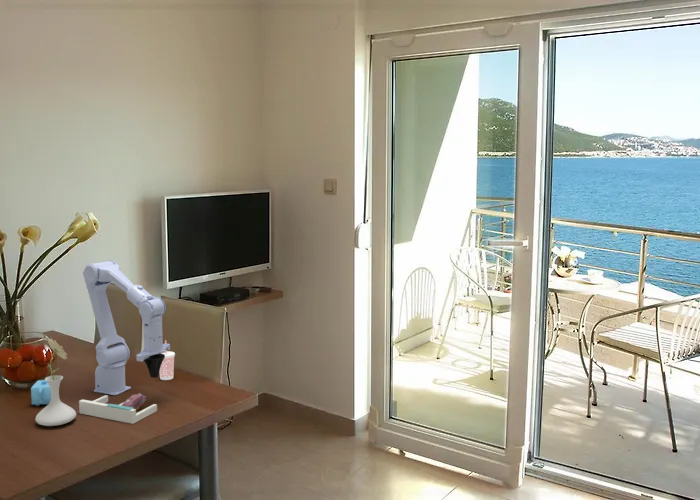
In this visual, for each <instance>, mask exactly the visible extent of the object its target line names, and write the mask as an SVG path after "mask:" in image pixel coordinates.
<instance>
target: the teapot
mask: <svg viewBox="0 0 700 500" xmlns="http://www.w3.org/2000/svg"><path fill="white" fill-rule="evenodd" d="M30 394H31V395H30V397H31V398H30V399H31V405H35V406H36V407H39V406H40V405H46V406H47V405H48V404H49V403H50V401H51V391H50V387H49V384H48V382H47V381H46V380H45V379H41V380H40V379H39V380H37V381H36V382H35V383H34V384H33V385H32V386H31V387H30Z"/></svg>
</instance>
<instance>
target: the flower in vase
mask: <svg viewBox="0 0 700 500" xmlns="http://www.w3.org/2000/svg"><path fill="white" fill-rule="evenodd" d="M47 343H48V345H49V347H50V348H51V350H52V351H53V353H52V355H51V357H50V361H49V363H47V367H48V368H49V369H50V374H51V375H50V376H46V377H45V378H44V380H46V381H47V382H48V384H49V387H50V391H51V401H50V403H49V404H48V405H47V404H46V406H45V407H44V408H42V410H39V412H38V413H37V414H36V416H35V423H37V424H38V425H40V426H45V427H54V426H61V425H64V424H67V423H69V422H72V421H73V420H75V418H76V417H77V412H76V410H75V409H74V408H73V407H71V406H69V405H68V404H66V403H64V402H62V401H61V399H60V385H61V382H62V381H63V379H64V376H63V375H61V374H60V375H59V374H58V375H57V374H55V375H54V372H56V371H58V370H60V368H59V367H57V368H56V369H55V370H54V369H52V361H53V358H54V356H55V354H56V355H57V356H58V357H60V358H61V359H63V360H68V357H67V356H68V354H67V353H66V352H65V349H64V347H63V346H62V345H60V344H58V342H57V340H55V339H54V340H53V338H50V339H48V340H47Z"/></svg>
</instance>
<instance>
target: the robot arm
mask: <svg viewBox="0 0 700 500" xmlns="http://www.w3.org/2000/svg"><path fill="white" fill-rule="evenodd" d="M82 276H83V279H84V282H85V285H86V289H87V293H88V296H89V299H90V304H91V307H92V311H93V315H94V319H95V323H96V326H97V329H98V330H97V331H98V333H99V338H100V340H99V341H98V343H97V344H96V345H95V352H96V354H95V355H96V356H95V357H96V361H97V364H98V365H97V366H96V368H95V370H94V371H95V372H94V382H95V383H94V384H95V385H94V386H95V389H94V390H93V392H94V393H99V394H105V395H111V396H117V395H118V396H119V395H120V394H122V393H124V392H126V391H128V390H130V389H132V387H131V386H127V385H126V364H127V361H128V360H129V358H130V356H131V355H130V354H131V352H130V348H129V346H128V345H127V343H126V339H124V338H123V337H122V336H120V335H118V333H117V329H116V325H115V322H114V317H113V313H112V311H111V307H110V303H109V299H108V296H107V291H106V290H107V288H108V286H110V285H111V283H112V284H113V285H115V286H116V287H118V288H119V289H120V290H122V291H123V292H124V293H125V294H126V299H127V300H129V302H131V303H132V304H133V305H134V306H135V307H136V308H137V309H138V313H139V315H140V317H141V321H142V324H143V344H144V345H143V346H144V348H143V350H141V351H140V352H139V353H137V354H136V362H142V363H143V362H144V363H145V365H146V367H147V369H148V373H149V376H150V378H154V379H156V378H158V377H159V376H160V372H159V371H160V367H161V364H162V362H163V360H164V358H165V355H164V354H162V353H165V351H166V350H167V351H170V350H171V344H170V343H167V344H166V343H165V342H163V315H164V314H165V313H166V311H167V310H166V309H167V306H166V303H165V301H164V300H163V299H162V298H161V297H159V296H158V297H157V296H153V295H152V294H151V293H149V292H148V291H147V290H146V289H144V286H143V285H140V284H134V283H133V282H132V281H131V280H130V279H129V278H128V277H127V276H126V275H125V274H124V273H123V271H121V267H120V265H119V264H117V262H116V261H114V260H106V261H102V262H96V263H95V262H94V263H88V264H86V265H85V267H84V270H83V271H82ZM111 345H112V346H111Z"/></svg>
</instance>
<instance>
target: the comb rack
mask: <svg viewBox="0 0 700 500" xmlns="http://www.w3.org/2000/svg"><path fill="white" fill-rule="evenodd" d="M124 402H125V401H123V402H121V403H119V404H116V403H115V404H114V403H109V395H108V394H105V395H103V396H101V397H99V398H97V399H94V400H87V399H80V400H78V406H79V408H78V410H79V412H78V413H79V414H80V415H87V416H91V417H96V418H101V419H106V420H107V419H108V420H110V421H111V420H112V421H117V422H121V423H125V424H126V423H127V424H132V425H133V424H135V423H137V422H139V421H141V420H142V419H144V418H146V417H148V416H150V415H152V414H154V413H156V412H157V411H158V404H156V403H153V404H151V405H150V406H148V407H146V408H144V409H142V410H140V411H136V409H133V408H131V407H126V406H121V405H122V404H123V403H124Z"/></svg>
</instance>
